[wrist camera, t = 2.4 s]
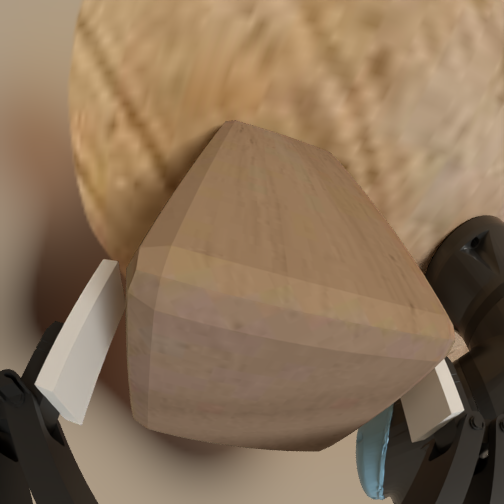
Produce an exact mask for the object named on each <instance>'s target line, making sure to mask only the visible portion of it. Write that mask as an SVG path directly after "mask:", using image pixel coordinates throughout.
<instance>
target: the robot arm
mask: <svg viewBox="0 0 504 504" xmlns="http://www.w3.org/2000/svg"><path fill="white" fill-rule="evenodd" d="M425 277H426V279H427V281H428V282H429V284H430V286H431V287H432V289H433V290H434V292H435V294H436V296H437V297H438V299H439V301H440V302H441V304H442V306H443V308H444V309H445V311H446V313H447V315H448V316H449V318H450V320H451V322H452V324H453V327H454V331H455V332H456V333H458V334H459V335H460V336H461V337H462V338H463V340H464V341H465V343H466V345H467V347H468V349H469V352H467V353H466V354H465V355H463V356H462V357H460V358H459V359H457V360H455V361H454V362H451V361H450V359H449V358H448V357H447V356H446V357H445V358H444V359H443V360H442V361H441V362H440V363H439V364H438V365H437V366H436V367H435V368H434V369H433V370H432V371H431V372H430V373H429V374H427V375H426V376H425V377H424V378H423V379H422V380H421V381H420V382H418V383H417V384H416V385H415V386H414V387H413V388H411V389H410V390H409V391H408V392H407V393H405V394H404V395H403V396H402V397H401V398H399V399H398V400H397V401H396V402H394V403H393V404H392V405H390V406H389V407H388V408H386V409H385V410H384V411H382V412H381V413H380V414H378V415H377V416H376V417H374V418H373V419H371V420H370V421H369V422H367V423H366V424H364V425H363V426H361V427H360V428H358V433H357V440H356V463H357V470H358V475H359V479H360V483H361V485H362V488H363V490H364V491H365V493H366V494H367V496H369V497H371V498H372V499H381V500H383V499H385V498H387V497H388V496H390V497H391V499H392V501H393V503H394V504H504V222H502V221H501V220H500V219H499V218H497V217H494V216H480V217H476V218H474V219H471V220H469V221H467V222H466V223H464V224H463V225H461V226H460V227H459V228H457V229H456V230H455V231H454V232H453V233H452V234H451V235H450V236H449V237H448V238H447V239H446V240H445V241H444V242H443V243H442V245H441V246H440V247H439V249H438V250H437V252H436V253H435V255H434V257H433V258H432V260H431V262H430V264H429V267H428V269H427V272H426V276H425ZM125 308H126V300H125V295H124V290H123V285H122V280H121V274H120V268H119V262H118V261H113V260H106V259H103V260H102V262H101V264H100V265H99V267H98V268H97V270H96V271H95V273H94V274H93V276H92V278H91V279H90V281H89V282H88V284H87V286H86V287H85V289H84V291H83V292H82V294H81V296H80V297H79V299H78V301H77V302H76V304H75V306H74V307H73V309H72V311H71V313H70V315H69V316H68V318H67V320H66V322H65V324H64V323H60V322H57V321H55V322H54V323H53V324H52V325H50V326H49V327H48V328H47V329H46V331H45V333H44V334H43V336H42V338H41V341H40V342H39V343H38V346H37V347H36V348H37V349H36V350H35V351H34V353H33V355H32V357H31V359H30V361H29V363H28V365H27V367H26V369H25V371H24V373H23V375H22V377H21V378H20V376H19V375H18V374H17V373H16V372H14V371H13V370H10V369H6V370H2V371H0V504H33V502H32V497H31V493H30V490H31V492H32V495H33V497H34V499H35V501H36V504H98V502H97V501H96V499H95V497H94V495H93V494H92V492H91V490H90V488H89V486H88V485H87V483H86V481H85V479H84V477H83V475H82V473H81V471H80V469H79V467H78V465H77V463H76V461H75V459H74V456H73V454H72V452H71V450H70V448H69V445H68V443H67V440H66V438H65V436H64V433H63V431H62V428H61V425H60V423H59V421H58V417H59V414H61V415H62V416H63V417H64V418H65V419H66V420H69V421H72V422H74V423H77V424H80V425H82V423H83V419H84V416H85V413H86V410H87V407H88V404H89V401H90V398H91V395H92V392H93V389H94V386H95V384H96V381H97V378H98V375H99V373H100V370H101V367H102V365H103V361H104V359H105V357H106V354H107V352H108V349H109V346H110V344H111V341H112V339H113V337H114V334H115V331H116V329H117V327H118V324H119V322H120V319H121V317H122V315H123V313H124V310H125ZM473 396H474V397H473ZM487 454H488V455H487Z"/></svg>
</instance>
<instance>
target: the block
mask: <svg viewBox="0 0 504 504" xmlns="http://www.w3.org/2000/svg"><path fill="white" fill-rule="evenodd" d="M454 342H455V334H454V327H453V324H452V322H451V320H450V318H449V316H448V315H447V313H446V311H445V309H444V308H443V306H442V304H441V302H440V301H439V299H438V297H437V296H436V294H435V292H434V290H433V289H432V287H431V286H430V284H429V282H428V281H427V279H426V277H425V276H424V274H423V273H422V271H421V270H420V268H419V267H418V265H417V263H416V262H415V260H414V259H413V257H412V256H411V254H410V253H409V251H408V250H407V249H406V247H405V246H404V244H403V243H402V241H401V240H400V238H399V237H398V236H397V234H396V233H395V231H394V230H393V229H392V227H391V226H390V225H389V223H388V222H387V220H386V219H385V218H384V216H383V215H382V214H381V212H380V211H379V210H378V209H377V207H376V206H375V205H374V203H373V202H372V201H371V200H370V198H369V197H368V196H367V194H366V193H365V192H364V191H363V190H362V188H361V187H360V186H359V185H358V183H357V182H356V181H355V180H354V179H353V177H352V176H351V175H350V174H349V173H348V171H347V170H346V169H345V168H344V167H343V166H342V164H341V163H340V162H339V161H338V160H337V159H336V158H335V157H334V156H333V155H332V154H331V153H330V152H328V151H325V150H323V149H320V148H318V147H315V146H312V145H310V144H307V143H304V142H301V141H299V140H296V139H293V138H290V137H287V136H284V135H281V134H278V133H275V132H272V131H269V130H266V129H263V128H259V127H256V126H253V125H249V124H246V123H243V122H239V121H236V120H235V121H226V122H225V123H224V124H223V125H222V126H221V128H220V129H219V130H218V131H217V133H216V134H215V135H214V137H213V138H212V139H211V141H210V142H209V143H208V145H207V146H206V147H205V149H204V150H203V151H202V153H201V154H200V155H199V157H198V158H197V159H196V161H195V162H194V164H193V165H192V166H191V168H190V169H189V171H188V172H187V174H186V175H185V176H184V178H183V179H182V181H181V182H180V184H179V185H178V187H177V188H176V189H175V191H174V192H173V194H172V195H171V197H170V198H169V200H168V201H167V203H166V205H165V206H164V208H163V209H162V211H161V212H160V214H159V215H158V217H157V218H156V220H155V222H154V223H153V225H152V226H151V228H150V230H149V231H148V233H147V234H146V236H145V238H144V239H143V241H142V243H141V244H140V246H139V248H138V249H137V251H136V253H135V255H134V256H133V258H132V260H131V261H130V263H129V265H128V267H127V268H126V348H127V366H128V379H129V392H130V402H131V408H132V414H133V418H134V419H135V420H136V421H138V422H139V423H140V424H142V425H143V426H144V427H146V428H148V429H151V430H155V431H158V432H162V433H166V434H170V435H175V436H179V437H184V438H189V439H193V440H199V441H205V442H210V443H216V444H222V445H230V446H237V447H245V448H256V449H267V450H283V451H321V450H323V449H325V448H327V447H330V446H332V445H333V444H335V443H336V442H338V441H340V440H341V439H343V438H344V437H346V436H348V435H349V434H351V433H352V432H354V431H355V430H357V429H358V428H360V427H361V426H363V425H364V424H366V423H367V422H369V421H370V420H371V419H373V418H374V417H376V416H377V415H378V414H380V413H381V412H382V411H384V410H385V409H386V408H388V407H389V406H390V405H392V404H393V403H394V402H396V401H397V400H398V399H399V398H401V397H402V396H403V395H404V394H405V393H407V392H408V391H409V390H410V389H411V388H413V387H414V386H415V385H416V384H417V383H418V382H420V381H421V380H422V379H423V378H424V377H425V376H426V375H427V374H429V373H430V372H431V371H432V370H433V369H434V368H435V367H436V366H437V365H438V364H439V363H440V362H441V361H442V360H443V359H444V358H445V357H446V356H448V354H449V352H450V350H451V348H452V346H453V344H454Z"/></svg>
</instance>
